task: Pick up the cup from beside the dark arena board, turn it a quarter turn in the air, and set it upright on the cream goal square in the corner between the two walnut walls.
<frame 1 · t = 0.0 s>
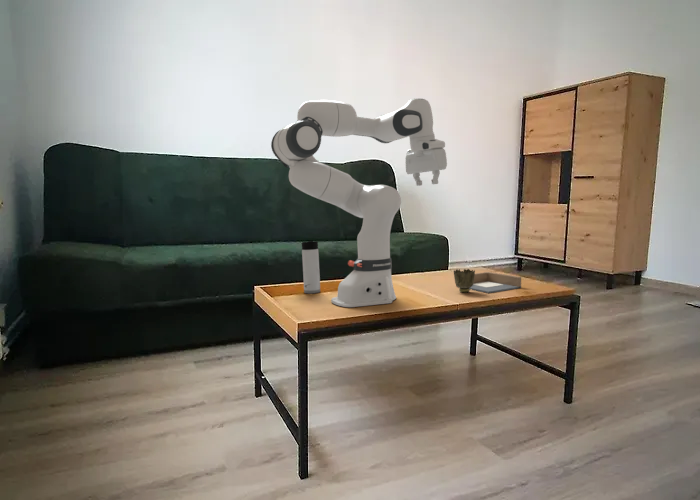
hand: (427, 184, 165), 39 cm above the table, tool pointing down, fingers open, 8 cm apart
arena: (487, 287, 171), on the table
travel mug: (312, 292, 176), on the table
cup: (464, 292, 164), on the table
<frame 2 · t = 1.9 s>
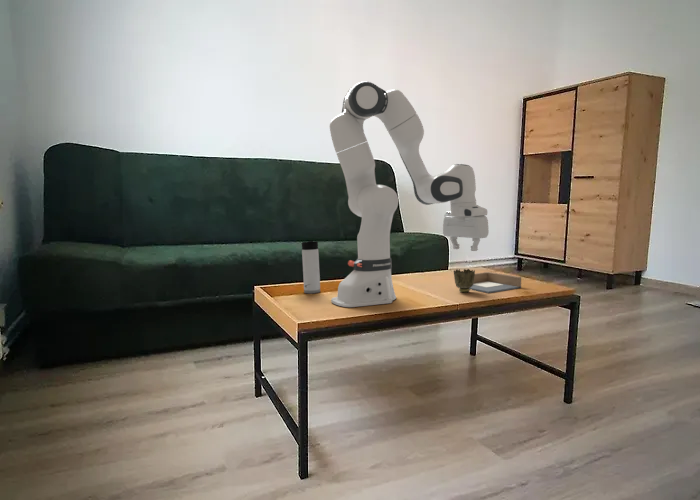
hand: (465, 249, 162), 15 cm above the table, tool pointing down, fingers open, 8 cm apart
nothing on the table moved.
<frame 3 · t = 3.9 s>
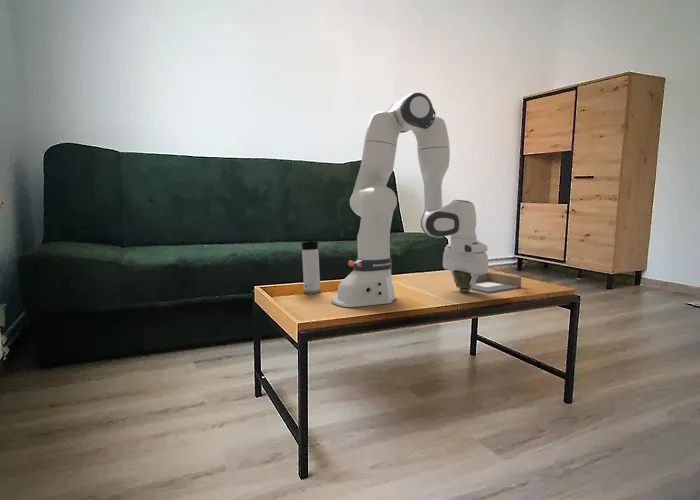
hand: (464, 284, 163), 3 cm above the table, tool pointing down, fingers closed on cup, 7 cm apart
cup: (464, 292, 164), on the table, touching gripper
everything else where it was.
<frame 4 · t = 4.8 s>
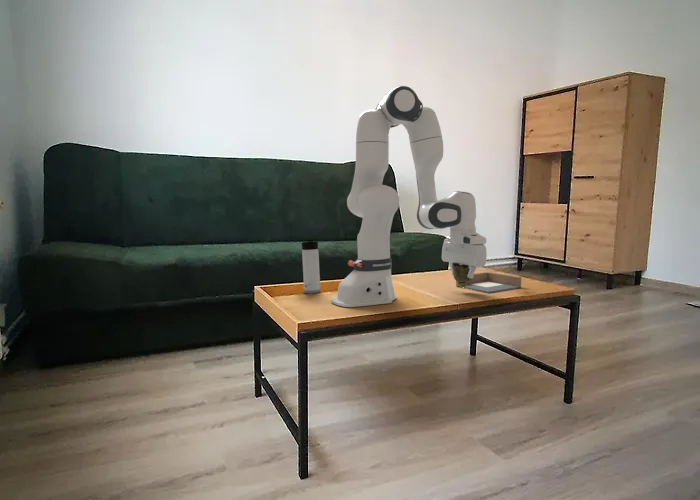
hand: (462, 276, 163), 6 cm above the table, tool pointing down, fingers closed on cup, 7 cm apart
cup: (462, 286, 163), point 2 cm above the table, touching gripper
everything else where it was.
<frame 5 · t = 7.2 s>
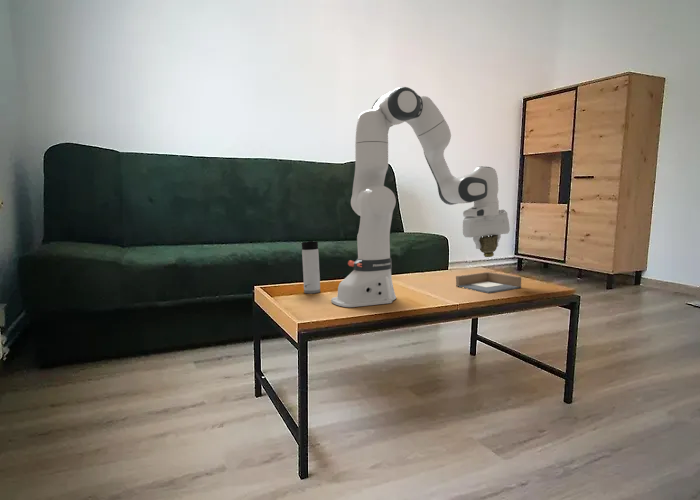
hand: (487, 247, 172), 15 cm above the table, tool pointing down, fingers closed on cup, 7 cm apart
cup: (489, 257, 172), point 11 cm above the table, touching gripper
everything else where it was.
when the fingers open (5 cm above the table, at t = 9.6 s): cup stays where it is, resting on arena.
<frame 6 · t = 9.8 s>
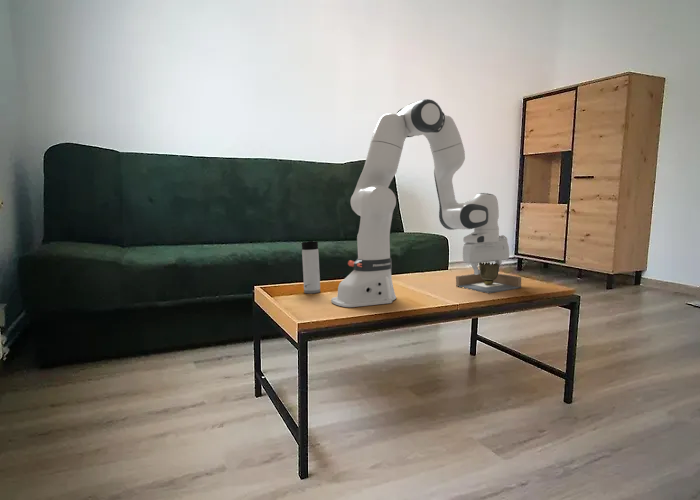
hand: (486, 273, 172), 5 cm above the table, tool pointing down, fingers open, 8 cm apart
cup: (488, 284, 173), point 1 cm above the table, touching arena, gripper
everything else where it was.
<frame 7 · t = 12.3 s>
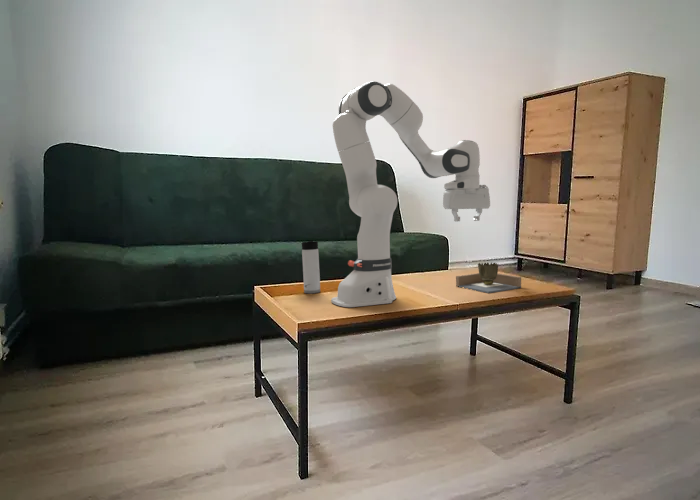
hand: (467, 221, 174), 25 cm above the table, tool pointing down, fingers open, 8 cm apart
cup: (488, 284, 173), point 1 cm above the table, touching arena
everything else where it was.
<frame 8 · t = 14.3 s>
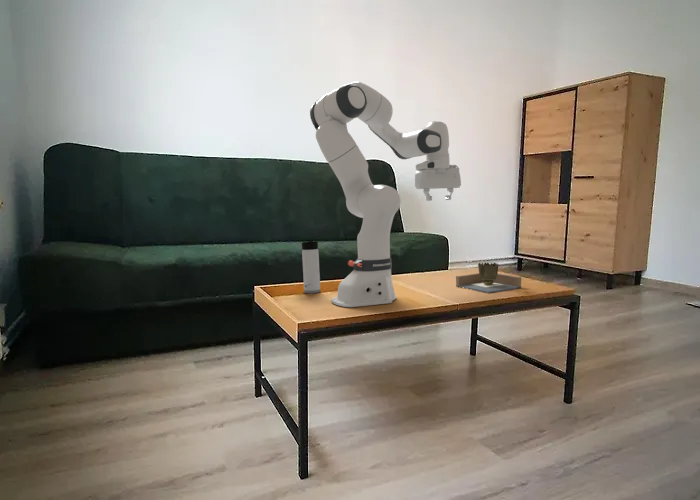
hand: (438, 200, 180), 33 cm above the table, tool pointing down, fingers open, 8 cm apart
nothing on the table moved.
at the end: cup 0.6 cm from the target spot on the arena, point 0.6 cm above the arena's base; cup tilted 0°; the gripper is holding nothing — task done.
